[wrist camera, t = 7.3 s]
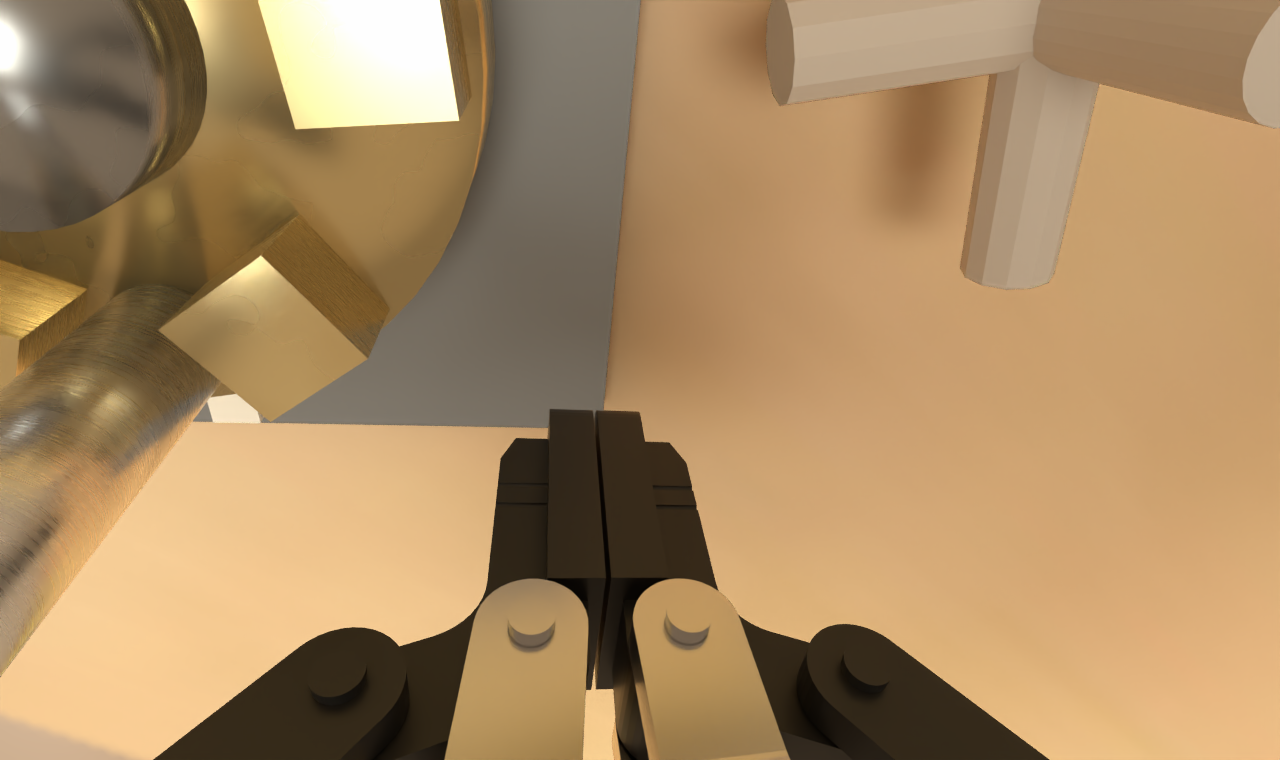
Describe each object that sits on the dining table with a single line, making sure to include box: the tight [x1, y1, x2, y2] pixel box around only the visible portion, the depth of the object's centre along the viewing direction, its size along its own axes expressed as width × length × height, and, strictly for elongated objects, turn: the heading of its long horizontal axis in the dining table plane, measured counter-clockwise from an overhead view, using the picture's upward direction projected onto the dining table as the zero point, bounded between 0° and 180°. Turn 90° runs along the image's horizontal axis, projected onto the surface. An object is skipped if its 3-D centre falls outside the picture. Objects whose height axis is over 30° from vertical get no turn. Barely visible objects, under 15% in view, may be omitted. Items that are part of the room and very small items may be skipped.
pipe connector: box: [766, 0, 1280, 290], centre depth 12 cm, size 10×10×10 cm
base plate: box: [193, 0, 641, 428], centre depth 14 cm, size 20×20×2 cm
